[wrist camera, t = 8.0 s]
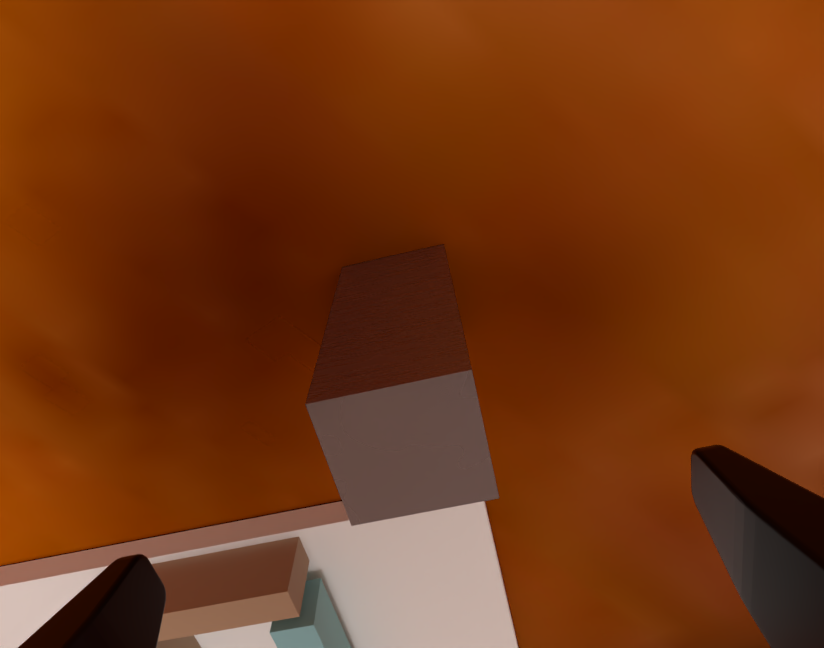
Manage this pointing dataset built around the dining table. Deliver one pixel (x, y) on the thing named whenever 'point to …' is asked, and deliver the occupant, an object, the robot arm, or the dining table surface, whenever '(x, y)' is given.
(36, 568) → the seat board
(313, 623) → the bar
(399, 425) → the grey block
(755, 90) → the dining table surface
